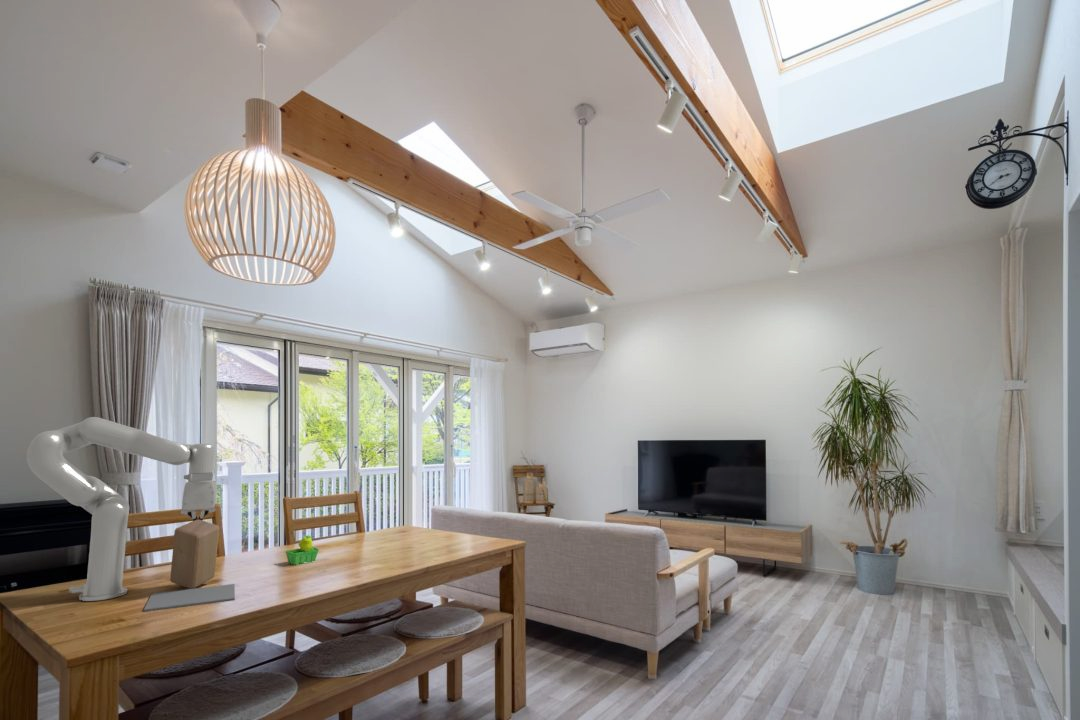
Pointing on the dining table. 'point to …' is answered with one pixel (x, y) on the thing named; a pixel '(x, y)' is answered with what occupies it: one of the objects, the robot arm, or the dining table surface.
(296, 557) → the fruit basket
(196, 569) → the wooden block
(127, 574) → the dining table surface
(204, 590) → the mat
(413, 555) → the dining table surface
